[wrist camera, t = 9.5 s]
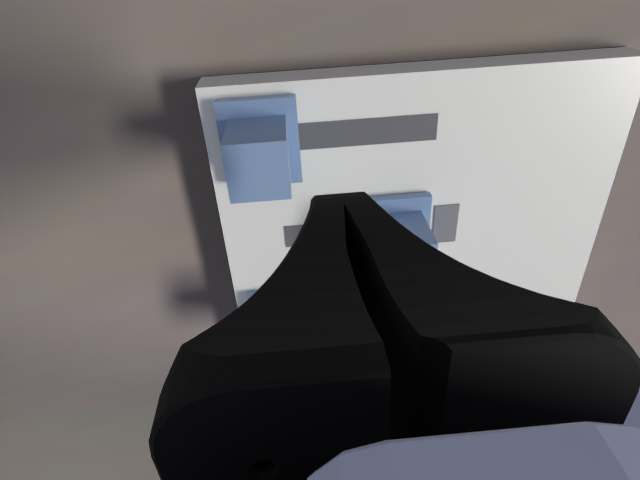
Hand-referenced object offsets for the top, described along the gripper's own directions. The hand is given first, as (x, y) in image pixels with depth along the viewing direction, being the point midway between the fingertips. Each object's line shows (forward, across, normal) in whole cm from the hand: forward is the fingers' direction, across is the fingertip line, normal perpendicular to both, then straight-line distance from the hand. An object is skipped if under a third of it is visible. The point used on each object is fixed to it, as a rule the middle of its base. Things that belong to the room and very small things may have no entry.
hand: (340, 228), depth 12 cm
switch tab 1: (+6, +2, 0) cm, 7 cm away
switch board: (+8, -4, +5) cm, 10 cm away
